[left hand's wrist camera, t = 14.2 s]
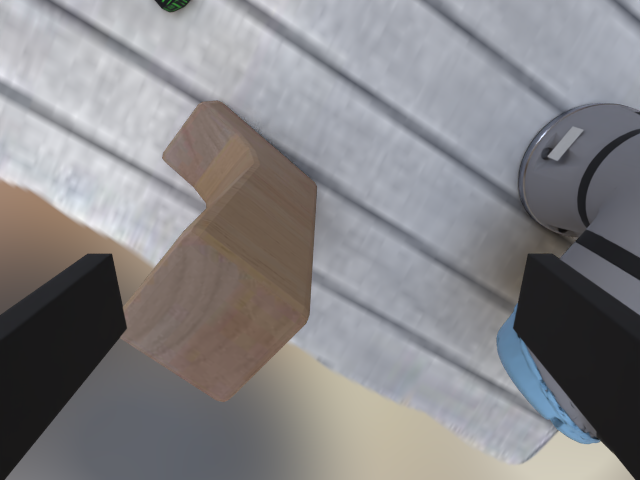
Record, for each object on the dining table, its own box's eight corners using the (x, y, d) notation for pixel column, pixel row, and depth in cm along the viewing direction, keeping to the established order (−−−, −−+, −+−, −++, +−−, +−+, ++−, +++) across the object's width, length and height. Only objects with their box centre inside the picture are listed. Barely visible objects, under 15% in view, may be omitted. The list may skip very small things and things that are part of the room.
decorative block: (218, 97, 44) (31, 107, 16) (319, 185, 47) (314, 322, 19) (180, 149, 46) (-45, 239, 18) (280, 229, 49) (223, 411, 21)
